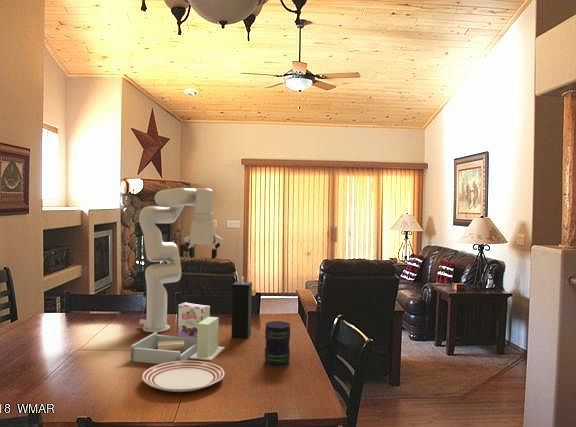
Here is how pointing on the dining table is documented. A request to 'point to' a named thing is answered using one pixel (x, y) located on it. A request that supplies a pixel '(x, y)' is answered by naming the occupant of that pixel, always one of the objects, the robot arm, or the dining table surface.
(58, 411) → the dining table surface
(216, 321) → the pale green block
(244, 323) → the tissue box
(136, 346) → the grey square tray frame
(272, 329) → the storage jar
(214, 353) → the felt mat
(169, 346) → the offcut upper
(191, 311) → the candy box
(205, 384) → the dinner plate
